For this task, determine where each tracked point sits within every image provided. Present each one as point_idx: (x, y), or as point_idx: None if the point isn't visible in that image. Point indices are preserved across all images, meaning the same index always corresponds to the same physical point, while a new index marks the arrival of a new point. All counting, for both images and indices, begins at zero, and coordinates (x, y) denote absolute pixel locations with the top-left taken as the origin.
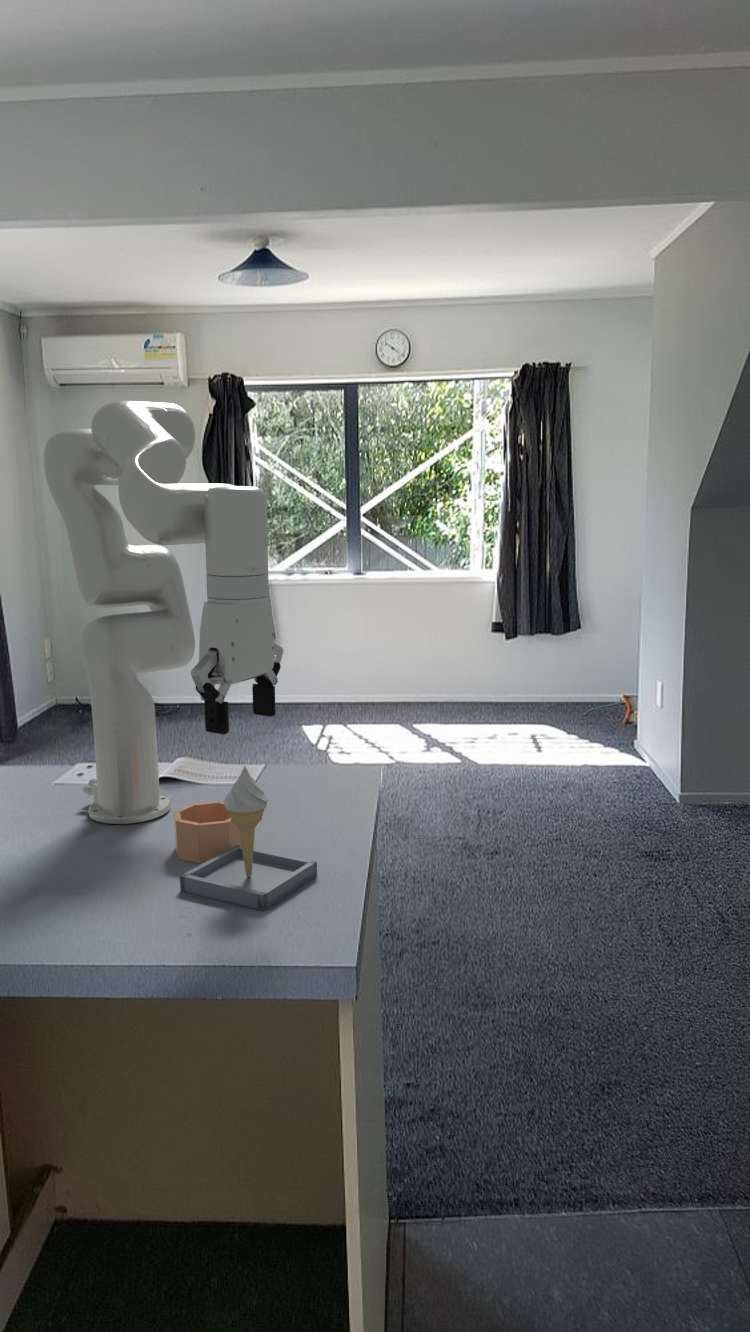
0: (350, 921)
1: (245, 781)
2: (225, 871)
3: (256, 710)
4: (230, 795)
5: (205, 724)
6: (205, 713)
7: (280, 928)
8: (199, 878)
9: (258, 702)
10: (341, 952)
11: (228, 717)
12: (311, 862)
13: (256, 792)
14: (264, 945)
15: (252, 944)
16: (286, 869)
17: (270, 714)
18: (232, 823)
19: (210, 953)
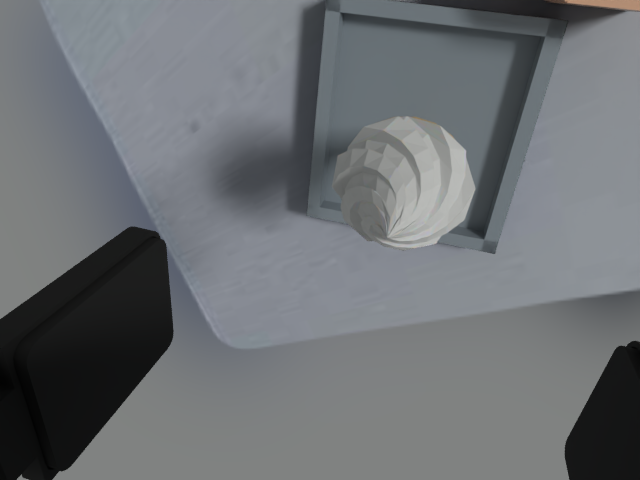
0: (332, 333)
1: (369, 226)
2: (433, 57)
3: (618, 380)
4: (351, 165)
5: (112, 241)
6: (62, 280)
7: (272, 250)
8: (330, 51)
9: (628, 447)
10: (248, 341)
11: (125, 398)
12: (487, 245)
13: (383, 242)
14: (219, 248)
15: (214, 232)
16: (481, 185)
17: (565, 452)
18: (589, 5)
19: (166, 188)
